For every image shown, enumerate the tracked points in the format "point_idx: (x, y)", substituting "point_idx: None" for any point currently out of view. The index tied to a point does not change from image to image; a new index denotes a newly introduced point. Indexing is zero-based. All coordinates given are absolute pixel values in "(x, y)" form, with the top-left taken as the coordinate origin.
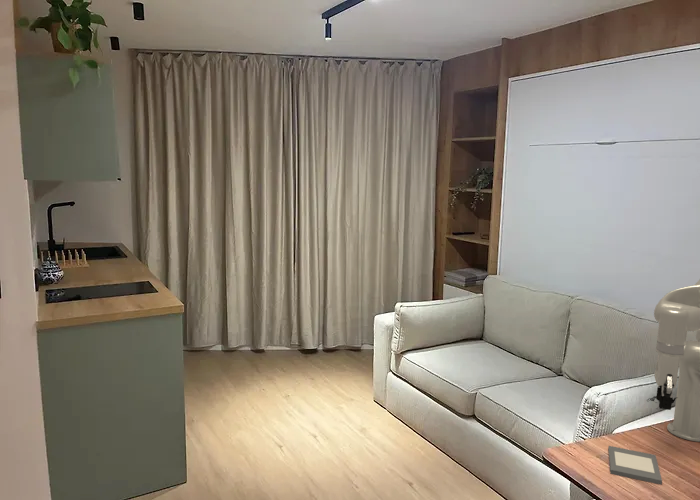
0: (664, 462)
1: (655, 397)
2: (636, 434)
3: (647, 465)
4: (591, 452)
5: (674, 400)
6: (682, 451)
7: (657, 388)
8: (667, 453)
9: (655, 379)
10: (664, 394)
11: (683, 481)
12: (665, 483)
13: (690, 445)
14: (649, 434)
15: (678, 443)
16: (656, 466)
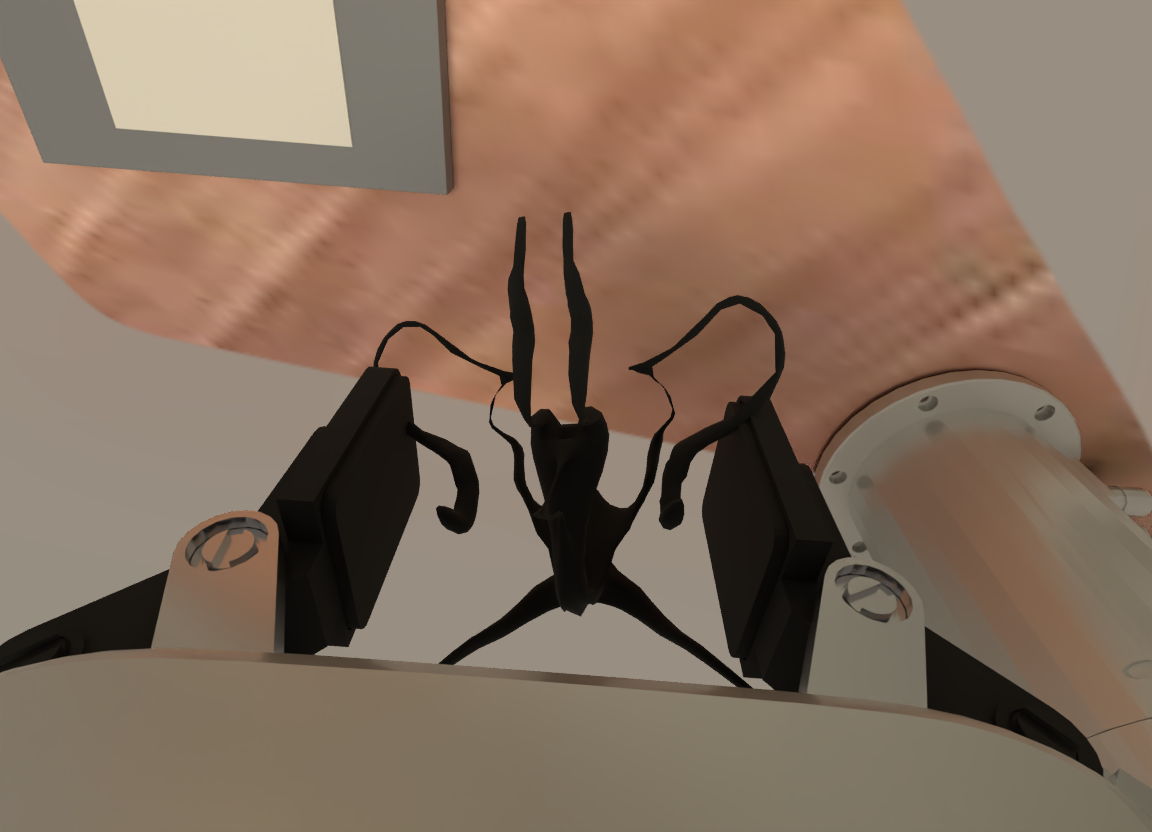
0: (428, 242)
1: (522, 390)
2: (869, 114)
3: (207, 92)
4: None
5: (513, 608)
6: (651, 384)
7: (811, 521)
8: None
9: (650, 709)
10: (148, 587)
11: (223, 302)
12: (109, 187)
13: None
14: (885, 226)
15: None
16: (245, 164)
